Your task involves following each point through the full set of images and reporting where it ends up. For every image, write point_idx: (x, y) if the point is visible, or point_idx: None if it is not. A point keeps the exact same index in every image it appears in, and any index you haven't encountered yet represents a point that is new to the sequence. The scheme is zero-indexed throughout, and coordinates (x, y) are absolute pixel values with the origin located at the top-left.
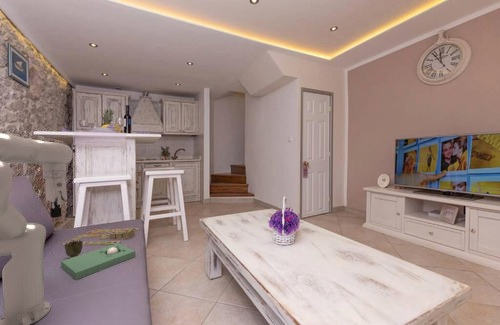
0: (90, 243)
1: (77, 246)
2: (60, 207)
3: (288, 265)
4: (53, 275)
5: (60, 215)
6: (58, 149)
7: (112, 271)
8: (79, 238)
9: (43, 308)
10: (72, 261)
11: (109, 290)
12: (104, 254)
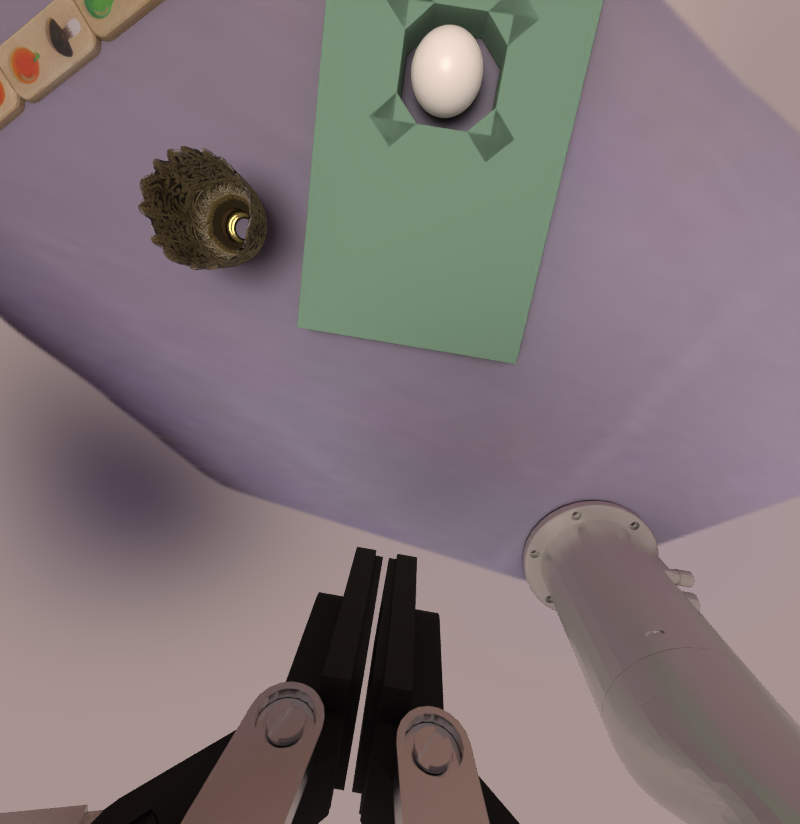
0: (89, 29)
1: (254, 215)
2: (451, 724)
3: None
4: (366, 383)
5: (414, 571)
6: None
7: (613, 220)
8: None
9: (632, 535)
10: (359, 299)
11: (751, 342)
12: (442, 137)
